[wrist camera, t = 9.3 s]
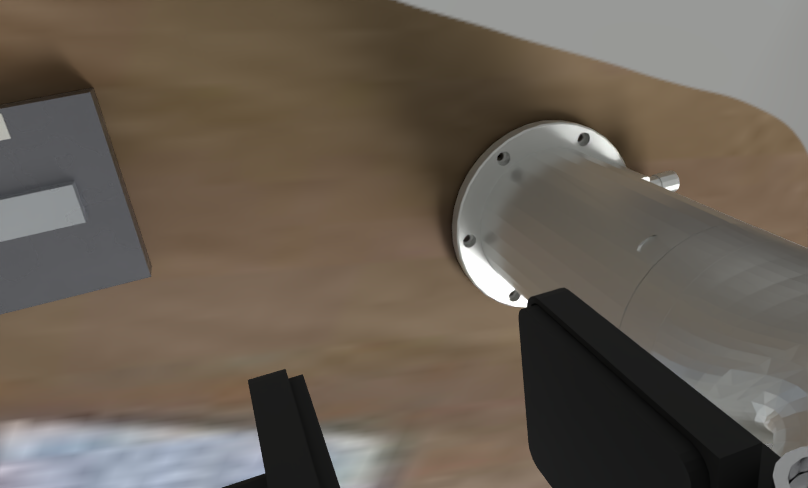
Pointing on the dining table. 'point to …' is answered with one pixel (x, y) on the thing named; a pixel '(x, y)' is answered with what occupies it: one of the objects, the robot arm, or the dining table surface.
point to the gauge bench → (62, 204)
